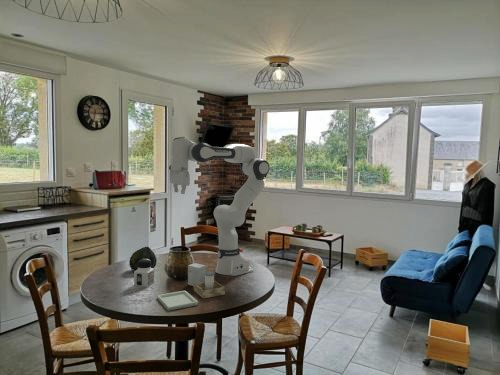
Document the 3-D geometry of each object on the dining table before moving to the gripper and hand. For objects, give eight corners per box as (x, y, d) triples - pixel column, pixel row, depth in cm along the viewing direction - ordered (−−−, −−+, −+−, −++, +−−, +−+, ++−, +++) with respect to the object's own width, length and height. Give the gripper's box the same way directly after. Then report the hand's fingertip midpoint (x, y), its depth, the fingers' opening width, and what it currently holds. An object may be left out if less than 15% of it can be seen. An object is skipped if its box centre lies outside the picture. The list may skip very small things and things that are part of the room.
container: (147, 287, 188) (147, 262, 187) (133, 286, 189) (133, 261, 188) (154, 282, 195) (154, 258, 194) (141, 281, 197) (141, 257, 196)
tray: (185, 293, 181) (185, 290, 181) (198, 305, 167) (198, 301, 167) (157, 298, 174) (157, 295, 174) (168, 310, 160) (168, 307, 160)
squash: (124, 259, 218) (131, 243, 210) (148, 256, 228) (156, 241, 220) (130, 279, 211) (138, 264, 202) (155, 275, 220) (163, 261, 212)
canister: (211, 290, 187) (211, 270, 186) (215, 293, 182) (216, 273, 182) (202, 291, 184) (203, 272, 183) (206, 294, 180) (207, 274, 179)
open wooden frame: (214, 287, 191) (214, 280, 191) (224, 294, 181) (225, 287, 181) (193, 290, 185) (193, 283, 185) (203, 298, 175) (203, 291, 175)
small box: (206, 285, 194) (206, 265, 193) (199, 288, 189) (199, 267, 188) (194, 281, 198) (195, 262, 198) (187, 284, 194) (187, 265, 193)
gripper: (193, 168, 190) (192, 194, 191) (178, 166, 207) (178, 191, 208) (181, 167, 186) (181, 195, 187) (167, 166, 204) (167, 191, 205)
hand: (179, 193), depth 198 cm, fingers open, 8 cm apart
